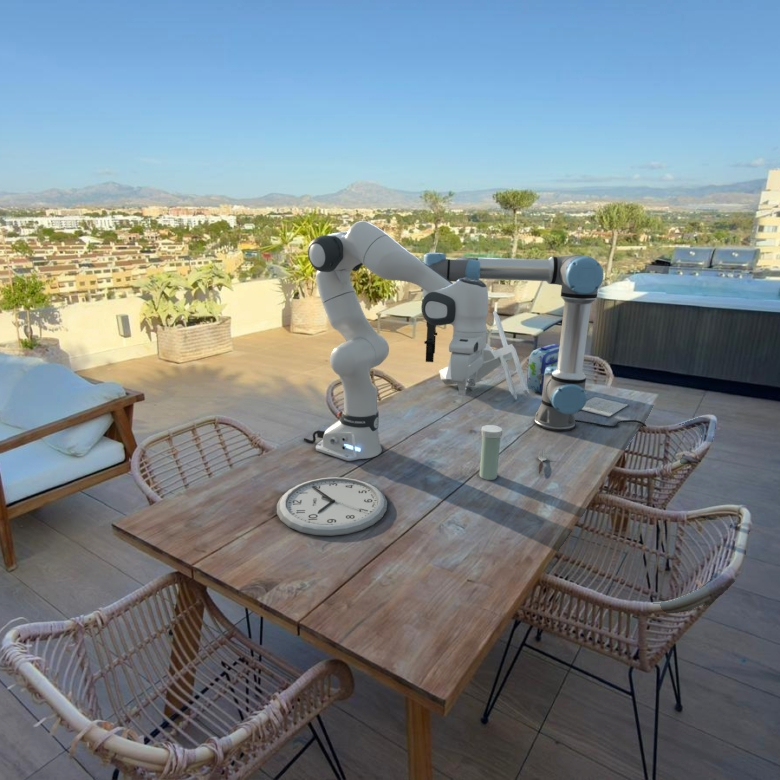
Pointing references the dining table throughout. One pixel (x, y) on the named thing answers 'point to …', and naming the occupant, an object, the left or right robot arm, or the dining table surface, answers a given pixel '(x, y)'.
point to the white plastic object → (494, 363)
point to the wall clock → (331, 506)
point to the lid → (491, 431)
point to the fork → (542, 460)
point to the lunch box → (541, 365)
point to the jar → (489, 458)
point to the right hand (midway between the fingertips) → (430, 357)
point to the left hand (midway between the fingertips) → (467, 390)
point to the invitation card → (603, 406)
